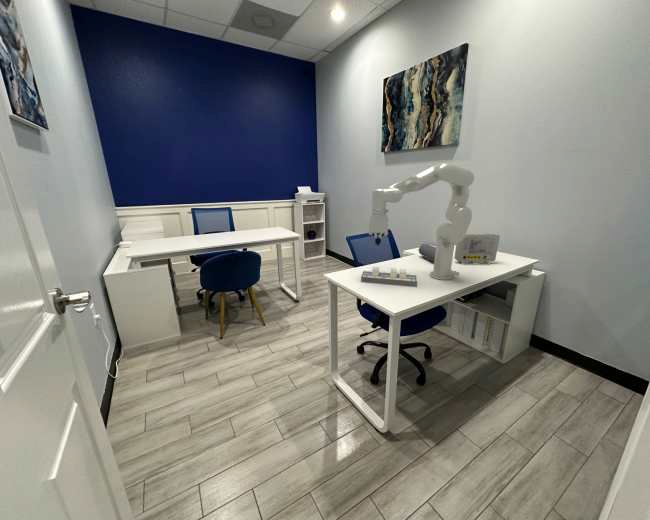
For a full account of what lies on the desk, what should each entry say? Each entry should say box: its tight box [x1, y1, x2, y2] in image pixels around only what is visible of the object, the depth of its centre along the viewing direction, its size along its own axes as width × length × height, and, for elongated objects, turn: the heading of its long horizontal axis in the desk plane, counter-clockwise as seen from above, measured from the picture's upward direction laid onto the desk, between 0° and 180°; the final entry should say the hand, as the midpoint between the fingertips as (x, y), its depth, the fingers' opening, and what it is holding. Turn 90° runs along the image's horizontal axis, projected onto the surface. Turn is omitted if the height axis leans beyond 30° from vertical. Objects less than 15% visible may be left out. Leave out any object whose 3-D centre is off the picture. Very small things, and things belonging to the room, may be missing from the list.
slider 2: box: [398, 268, 407, 278], centre depth 155 cm, size 4×5×4 cm
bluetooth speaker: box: [418, 243, 436, 264], centre depth 192 cm, size 23×9×10 cm, turn 13°
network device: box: [453, 233, 501, 266], centre depth 185 cm, size 26×9×20 cm, turn 88°
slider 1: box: [371, 266, 380, 276], centre depth 159 cm, size 4×5×4 cm
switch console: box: [360, 270, 418, 288], centre depth 158 cm, size 30×10×3 cm, turn 76°
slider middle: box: [389, 268, 398, 278], centre depth 156 cm, size 4×5×4 cm
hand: (377, 244), depth 156 cm, fingers closed
